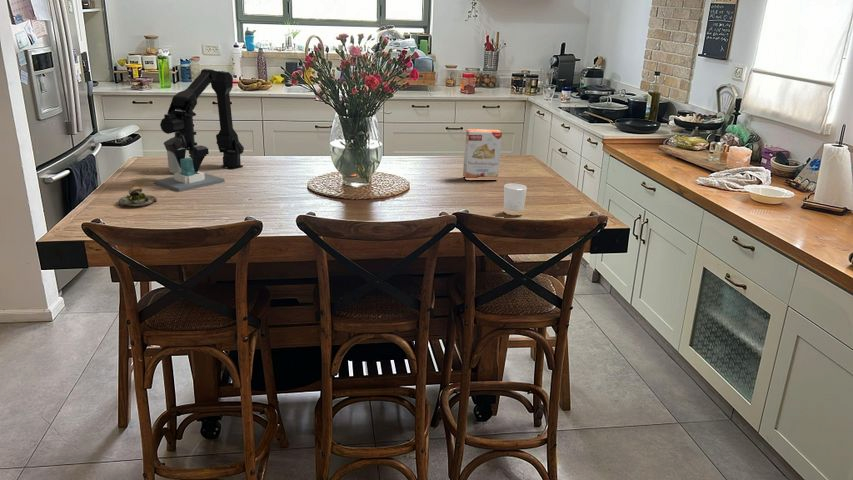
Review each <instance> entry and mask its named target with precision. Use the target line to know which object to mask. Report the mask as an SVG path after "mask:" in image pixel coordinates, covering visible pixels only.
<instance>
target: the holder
mask: <svg viewBox="0 0 853 480" xmlns="http://www.w3.org/2000/svg"><path fill="white" fill-rule="evenodd" d="M225 180H226V179H225V178H223V177H221V176H216V175H212V174H209V173H206V172H202V171H199V170H198V172H197V174H195V175H190V176H185V175H182V174H181V172H176V173H174V174H173V176H170V177H164V178H160V179H159V178H158V179H154V180H153V184H155V185H158V186H161V187H164V188H166V189H170V190H173V191H176V192H179V193H180V192H183V191H184V192H185V191H188V190H193V189H194V190H195V189H199V188H202V187H207V186H212V185H216V184H221V183H222V184H223V183H225V182H226V181H225Z"/></svg>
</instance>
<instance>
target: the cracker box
mask: <svg viewBox="0 0 853 480" xmlns="http://www.w3.org/2000/svg"><path fill="white" fill-rule="evenodd" d="M502 135H503V134H502V131H501V130H499V129H481V128H479V129H477V128H475V129H474V128H466V129H465V141H464V142H465V144H464V155H463V157H464V158H463V170H462V171H463V172H462V177H463V176H464V177H465V178H478V177H498V178H499V166H500V156H501V149H502V148H501V147H502V146H501V145H502Z"/></svg>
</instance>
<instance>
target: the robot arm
mask: <svg viewBox="0 0 853 480" xmlns="http://www.w3.org/2000/svg"><path fill="white" fill-rule="evenodd" d="M233 81H234V77H233V75H232V74H231V73H230V72H229V71H222V70H220V71H219V70H215V69H213V68H212V69H211V68H209V69H208V68H203V69H201V70H200V72H199V74H198V75H197V76H196V77H195V79H194V80H193V81H192V82H191V84H189V86H188V87H186V88H185V89H183V90H182V91H181V90H180V91H178V93H176V94H175V95H173V97H172V99H171V102H170V104H169V107H168V110H167V113H166V114H164V116H163V117H164V118H162V119H161V121H160V123H159V124H160V125H159V126H160V129H161V131H162V132H163V133H165V134H168V135H170V134H173V133H174V137H173V136H172V137H171V138H169V139H167V140H166V141H164V142H163V145H164V148H165V150H166V152H167V151H171V152H172V153H173V154H174V155H175V157H176V159H177V161H178V164H179V166H180V168H181V163H180V159H184V158H185V154H186V150H187V152H188V154H189V156H188V158H192V160H193V166H194V171H195V172H198V171H199V170H200V167H201V165H202V163H203V161H204V159H205V157H206V156H207V155H209V148H208V147H207V146H205V145H198V142H197V141H196V142H195V140H196V139H195V135H197V131H195V129H194V128H195V127H194V117H196V116H197V114H196V113H195V112H194V109H195V108H196V106H197V105H198V98H199V97H200V96H201V94H202V93H203V92H204V91H205V90H206V88H208V86H209V85H211V88H212V90H213V91H214V92H215V94H216V101H217V111H218V118H219V128H220V129H219V132H218V133H217V134H216V135H215V138H216V144H217V147H218V151H219V153H222V154H223V155H222V165H221V168H225V169H228V170H233V169H237V168H243V167H244V165H242V164H241V155H242V154H243V153H244V150H245V147H244V146H243V144H242V143H241V142H240V141H239V136H238V134H237V132H236V130H235V129H234V127H233V126H234V125H233V116H232V108H231V107H232V106H231V105H232V104H231V98H230V93H231V91H232V89H233V85H234V84H233V83H234V82H233Z"/></svg>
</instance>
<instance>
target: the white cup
mask: <svg viewBox="0 0 853 480" xmlns="http://www.w3.org/2000/svg"><path fill="white" fill-rule="evenodd" d="M503 186H504V187H503V189H504V190H503V209H504V208H505V209H507V210H511V211H520V210H523V211H524V208H525V204H526V203H525V202H526V197H527V189H528V187H527V186H526V185H524V184H523V183H522V184H519V183H506V184H504V185H503Z"/></svg>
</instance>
